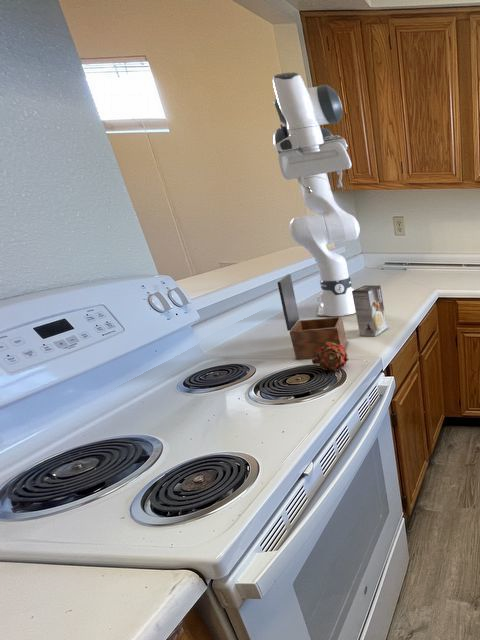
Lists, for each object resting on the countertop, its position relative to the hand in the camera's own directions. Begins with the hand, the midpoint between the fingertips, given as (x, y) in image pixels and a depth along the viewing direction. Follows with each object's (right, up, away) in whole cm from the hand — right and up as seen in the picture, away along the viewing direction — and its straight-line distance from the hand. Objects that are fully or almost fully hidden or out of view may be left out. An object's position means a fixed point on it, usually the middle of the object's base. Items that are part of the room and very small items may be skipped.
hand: (325, 190), depth 129 cm
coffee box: (+9, -42, +21) cm, 48 cm away
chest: (-3, -50, +5) cm, 50 cm away
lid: (-9, -35, -3) cm, 37 cm away
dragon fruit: (+6, -56, -9) cm, 57 cm away
